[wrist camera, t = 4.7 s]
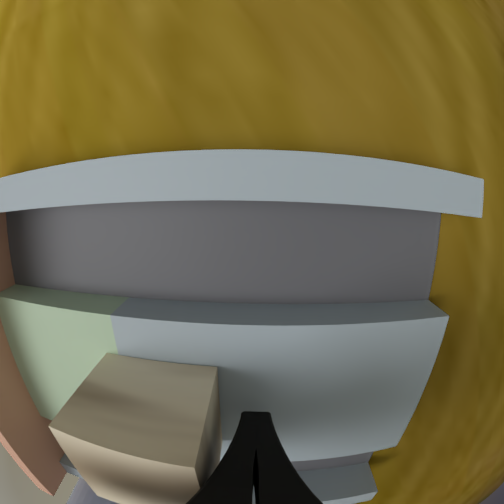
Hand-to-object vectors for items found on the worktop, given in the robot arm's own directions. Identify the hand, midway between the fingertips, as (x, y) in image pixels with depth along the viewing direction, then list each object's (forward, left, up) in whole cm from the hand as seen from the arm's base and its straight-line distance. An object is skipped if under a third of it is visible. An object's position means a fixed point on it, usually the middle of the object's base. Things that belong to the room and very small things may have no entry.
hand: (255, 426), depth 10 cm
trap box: (0, +4, -3) cm, 5 cm away
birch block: (0, +4, -1) cm, 4 cm away
